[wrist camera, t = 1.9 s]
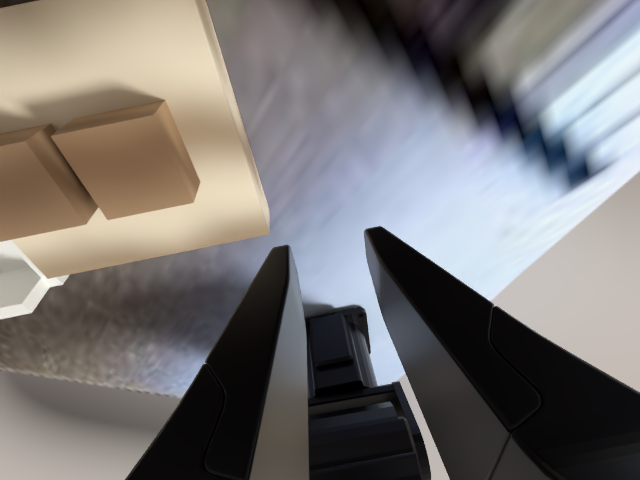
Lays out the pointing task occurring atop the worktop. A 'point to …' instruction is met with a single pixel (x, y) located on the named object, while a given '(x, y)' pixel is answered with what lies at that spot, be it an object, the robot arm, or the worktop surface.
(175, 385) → the worktop surface
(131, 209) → the walnut tile
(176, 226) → the birch plate
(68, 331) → the worktop surface
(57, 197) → the walnut tile
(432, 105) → the worktop surface
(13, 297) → the box
